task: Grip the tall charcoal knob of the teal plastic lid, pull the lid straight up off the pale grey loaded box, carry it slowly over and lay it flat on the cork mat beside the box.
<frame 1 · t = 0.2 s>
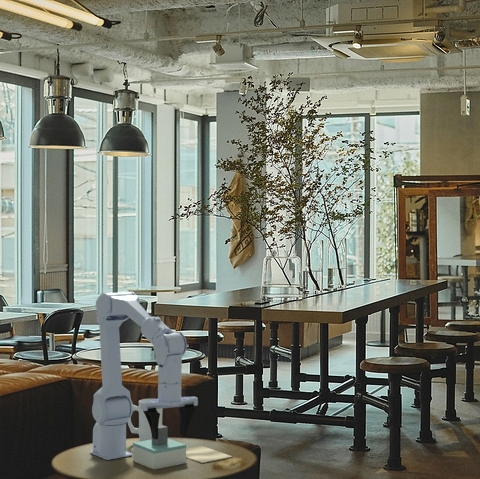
hand: (169, 436, 224), 10 cm above the table, tool pointing down, fingers open, 7 cm apart
lid: (159, 449, 238), point 3 cm above the table, touching storage box
mug: (144, 443, 258), on the table
cork mat: (201, 454, 246), on the table
storage box: (159, 461, 238), on the table
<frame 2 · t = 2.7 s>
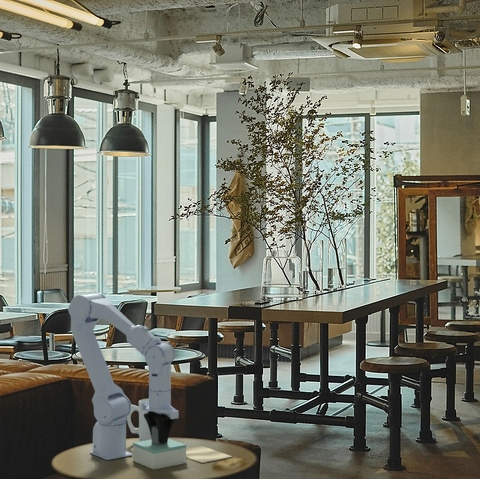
hand: (159, 441, 238), 5 cm above the table, tool pointing down, fingers closed on lid, 3 cm apart
lid: (159, 449, 238), point 3 cm above the table, touching gripper, storage box
everything else where it was.
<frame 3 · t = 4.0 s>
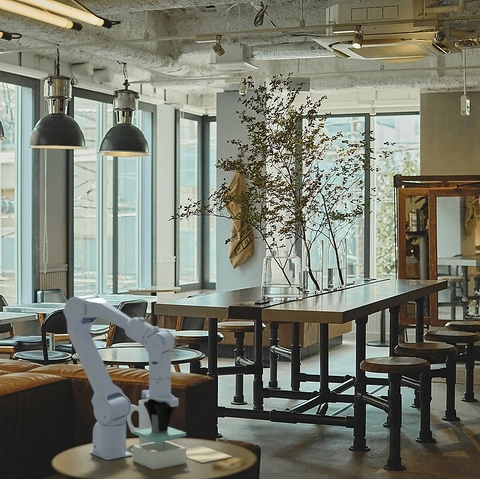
hand: (159, 429, 238), 9 cm above the table, tool pointing down, fingers closed on lid, 3 cm apart
lid: (159, 437, 238), point 6 cm above the table, touching gripper
everything else where it was.
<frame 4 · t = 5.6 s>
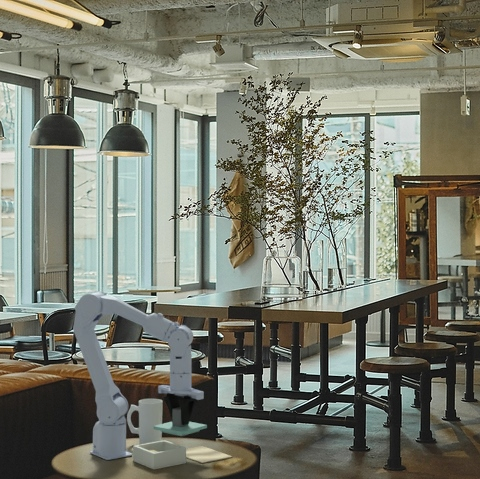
hand: (180, 423, 242), 9 cm above the table, tool pointing down, fingers closed on lid, 3 cm apart
lid: (180, 431, 242), point 7 cm above the table, touching gripper
everything else where it was.
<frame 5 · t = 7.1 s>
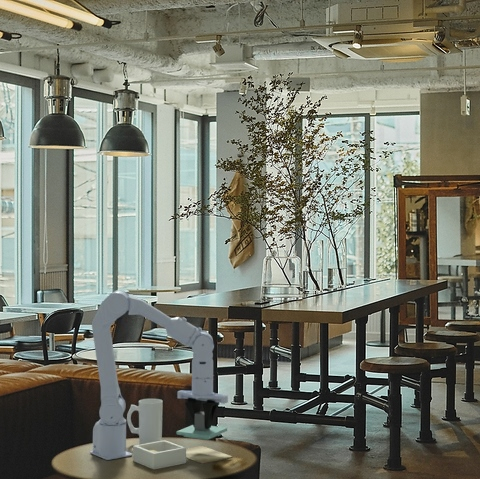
hand: (202, 427, 245), 7 cm above the table, tool pointing down, fingers closed on lid, 3 cm apart
lid: (202, 435, 245), point 5 cm above the table, touching gripper
everything else where it was.
when the fingers open (4 cm above the table, at t = 8.5 s): lid drops 1 cm, resting on cork mat.
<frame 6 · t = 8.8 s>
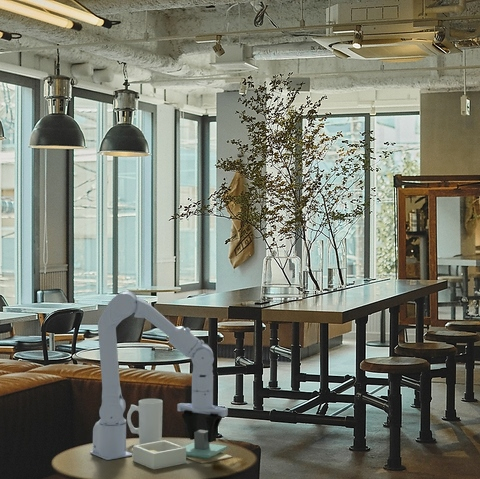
hand: (202, 440, 246), 4 cm above the table, tool pointing down, fingers open, 5 cm apart
lid: (201, 453, 246), resting on cork mat
everything else where it was.
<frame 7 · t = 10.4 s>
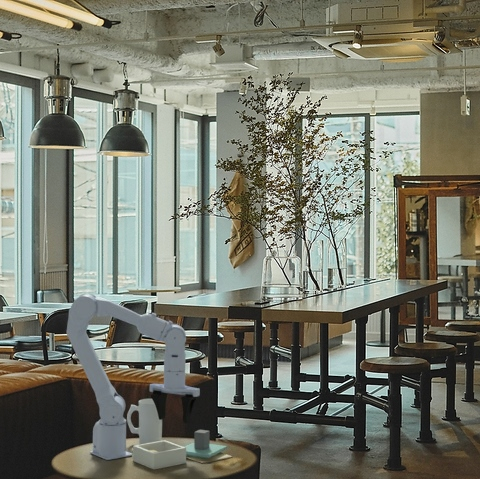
hand: (174, 420, 245), 9 cm above the table, tool pointing down, fingers open, 7 cm apart
nothing on the table moved.
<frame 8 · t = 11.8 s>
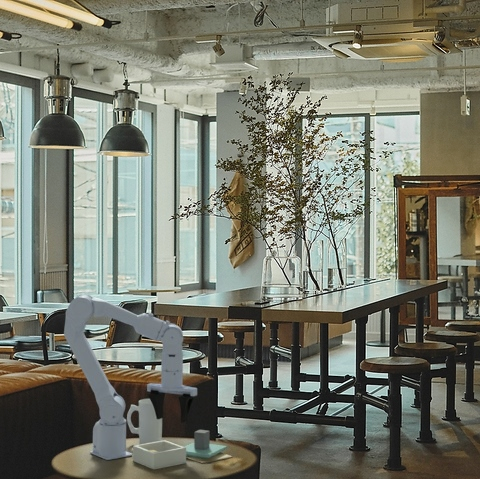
hand: (171, 420, 245), 9 cm above the table, tool pointing down, fingers open, 7 cm apart
nothing on the table moved.
at the end: lid inside the target area (0.0 cm from its centre), resting on cork mat; lid tilted 0°; the gripper is holding nothing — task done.
